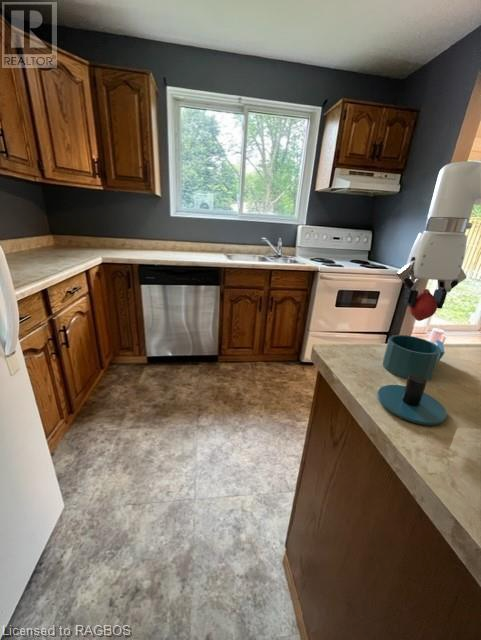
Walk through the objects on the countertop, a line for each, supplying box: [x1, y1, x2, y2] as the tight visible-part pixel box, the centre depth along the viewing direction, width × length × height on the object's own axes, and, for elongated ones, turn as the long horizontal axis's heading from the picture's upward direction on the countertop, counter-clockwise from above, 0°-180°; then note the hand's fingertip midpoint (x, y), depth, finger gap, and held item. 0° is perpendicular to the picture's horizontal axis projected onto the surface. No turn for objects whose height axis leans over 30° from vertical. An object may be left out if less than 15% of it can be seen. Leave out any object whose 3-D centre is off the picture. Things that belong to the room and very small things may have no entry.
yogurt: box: [434, 339, 445, 364], centre depth 74 cm, size 12×2×6 cm, turn 145°
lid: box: [376, 375, 447, 426], centre depth 56 cm, size 12×12×7 cm
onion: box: [407, 288, 438, 322], centre depth 65 cm, size 6×6×8 cm
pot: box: [382, 334, 441, 382], centre depth 70 cm, size 11×11×8 cm
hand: (422, 305), depth 65 cm, fingers closed on onion, 5 cm apart
